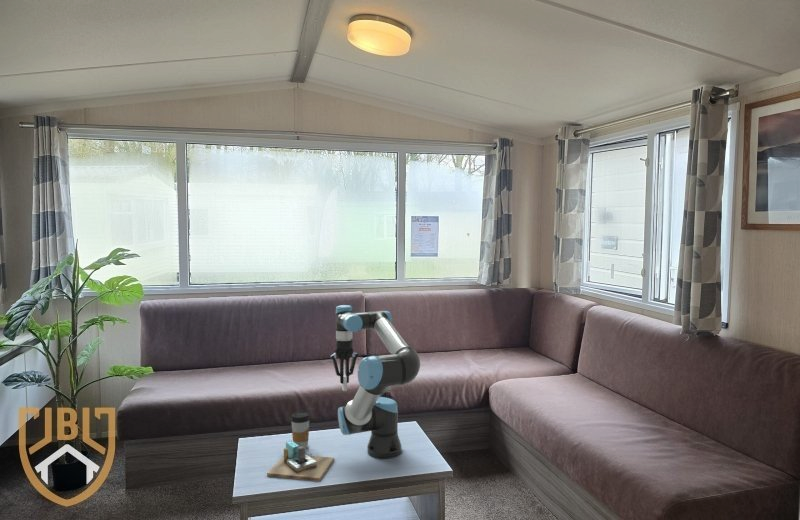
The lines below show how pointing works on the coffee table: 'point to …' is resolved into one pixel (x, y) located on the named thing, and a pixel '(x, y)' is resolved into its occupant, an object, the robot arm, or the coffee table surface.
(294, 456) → the flange
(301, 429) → the coffee cup
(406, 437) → the coffee table surface
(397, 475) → the coffee table surface
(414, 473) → the coffee table surface
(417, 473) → the coffee table surface
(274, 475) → the post base
